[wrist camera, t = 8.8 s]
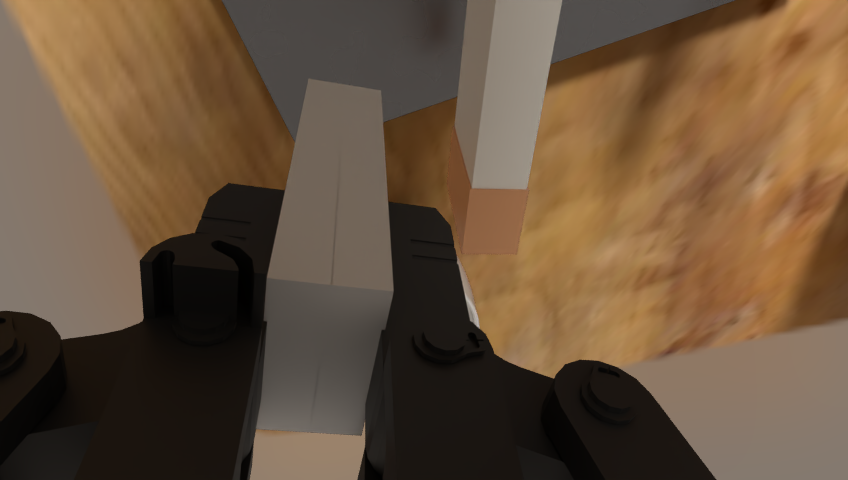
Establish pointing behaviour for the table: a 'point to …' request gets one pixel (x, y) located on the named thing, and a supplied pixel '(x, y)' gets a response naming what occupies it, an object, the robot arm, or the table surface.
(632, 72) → the table surface
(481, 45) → the white lever
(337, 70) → the base plate
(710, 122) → the table surface
